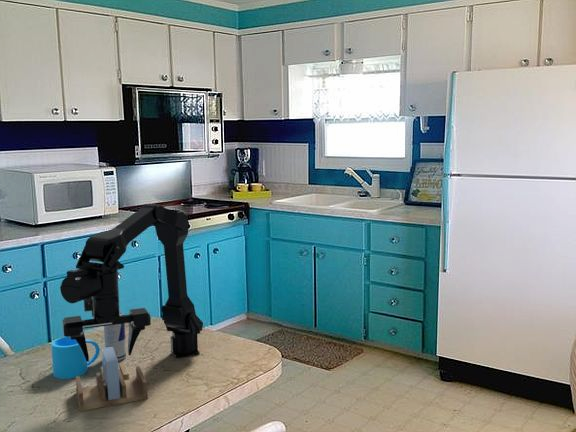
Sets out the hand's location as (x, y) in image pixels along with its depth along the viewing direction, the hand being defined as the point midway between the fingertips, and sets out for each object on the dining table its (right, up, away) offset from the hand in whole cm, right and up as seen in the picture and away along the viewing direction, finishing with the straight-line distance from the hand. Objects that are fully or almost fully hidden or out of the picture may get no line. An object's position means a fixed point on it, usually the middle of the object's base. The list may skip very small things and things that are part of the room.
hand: (108, 357), depth 136 cm
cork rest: (-2, -8, +11) cm, 14 cm away
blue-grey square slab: (0, -8, +2) cm, 8 cm away
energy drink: (-5, -6, +24) cm, 25 cm away
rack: (0, -9, +2) cm, 9 cm away
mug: (-13, -7, +17) cm, 22 cm away
